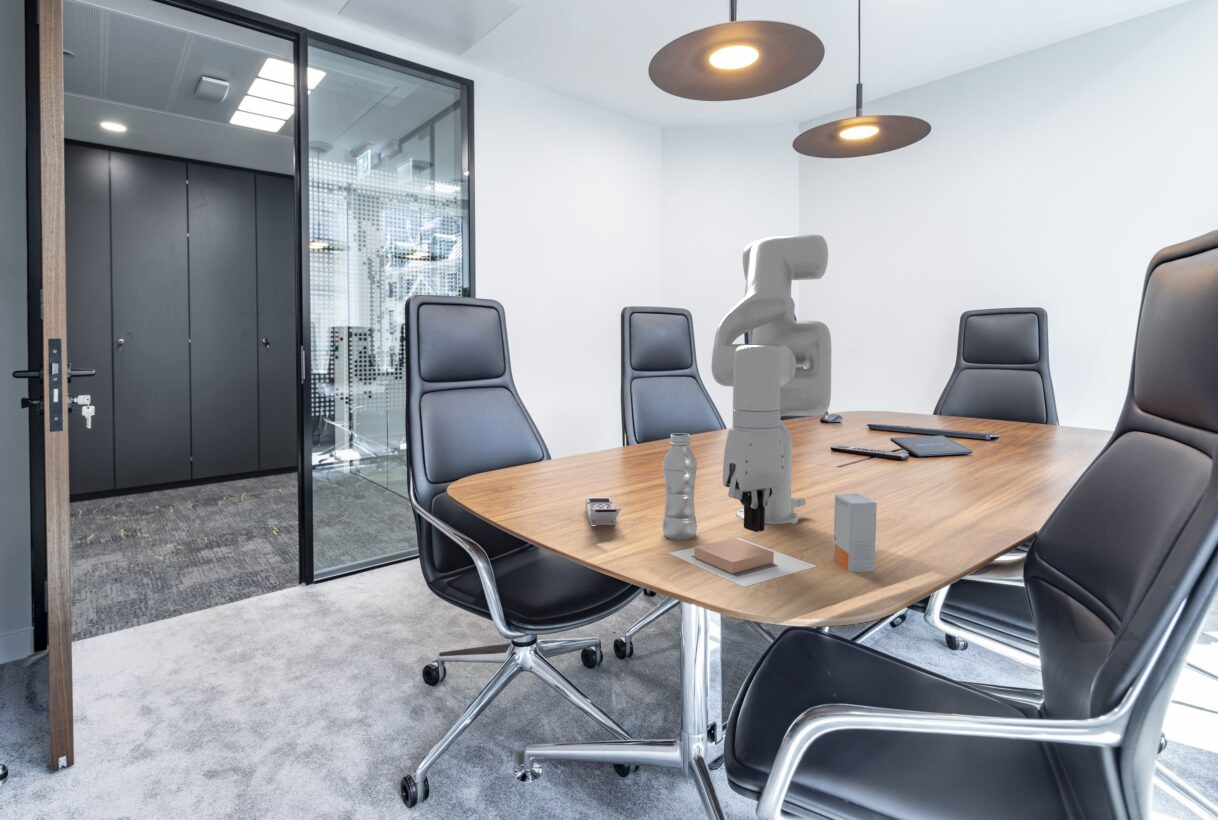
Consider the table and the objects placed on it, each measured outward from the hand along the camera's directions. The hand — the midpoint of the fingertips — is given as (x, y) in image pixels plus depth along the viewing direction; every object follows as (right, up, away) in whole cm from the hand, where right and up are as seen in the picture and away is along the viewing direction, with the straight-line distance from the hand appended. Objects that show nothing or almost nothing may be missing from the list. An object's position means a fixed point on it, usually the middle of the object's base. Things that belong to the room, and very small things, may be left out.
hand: (753, 529), depth 103 cm
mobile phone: (-26, -4, +27) cm, 38 cm away
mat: (-3, -6, -1) cm, 6 cm away
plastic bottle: (-11, -5, +13) cm, 17 cm away
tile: (0, -4, 0) cm, 4 cm away
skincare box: (+15, -6, -4) cm, 17 cm away
